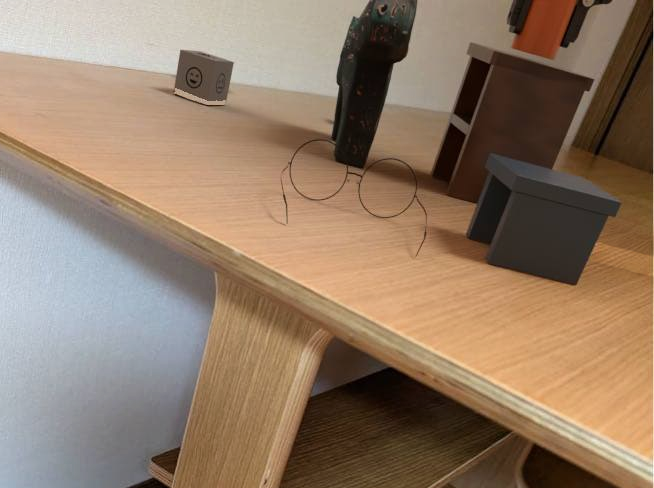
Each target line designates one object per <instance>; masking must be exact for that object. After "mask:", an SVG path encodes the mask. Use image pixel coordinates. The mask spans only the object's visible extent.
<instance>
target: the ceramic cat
mask: <svg viewBox="0 0 654 488" xmlns="http://www.w3.org/2000/svg"><path fill="white" fill-rule="evenodd" d="M417 7H418V0H368V3H366V6H365V8H364V9H363V11H362V12H361V14H360V15H359V16H358V17H357V16H355V15H353V16H352V19H351V20H350V24H349V26H348V28H347V32H346V33H347V34H346V36H345V39H344V42H343V46H342V49H341V52H340V55H339V62H338V66H337V70H336V77H335V78H336V79H335V80H336V85H337V86H338V91H337V97H336V104H335V110H334V117H333V118H334V120H333V126H332V130H331V131H332V132H331V136H330V138H332V139H333V140H332V139H331V140H332V141H334V140H335V141H334V144H336V145H337V146H338V147H339V148H340V149H341V150H342V151H343V153H344V155H345V157H346V159H347V163H348V166H353V167H356V168H360V169H364V168H365V166H366V164H367V161H368V157H369V155H370V151H371V148H372V145H373V143H374V140H375V138H376V134H377V131H378V127H379V124H380V120H381V116H382V113H383V111H384V106H385V103H386V100H387V97H388V92H389V87H390V83H391V80H392V75H393V69H394V65H395V64H397V63H400V62H402V61H403V60H404V59H405V58H406V57H407V55H408V53H409V49H410V42H411V37H412V32H413V27H414V23H415V19H416V14H417V9H418V8H417ZM338 147H336V146H335V145H334V149H333V157H334V161H335V162H338V163H341V164H344V165H347V164H346V160H345V157H344V155H343V153H342V152H341V151H340V149H339V148H338Z"/></svg>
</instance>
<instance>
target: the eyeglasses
mask: <svg viewBox="0 0 654 488" xmlns="http://www.w3.org/2000/svg"><path fill="white" fill-rule="evenodd" d="M317 141H320V142H322V141H323V142H327V143H330V144H332V145H333V146H334V147H335V146H336V147H338V146H337V145H336V144H335V142H333V141H330V140H328V139H319V138H318V139H317V138H316V139H313V140H309V141H307V142H305V143H303V144H302V145H301V146H299V147H298V148H297V150H296V151H295V152H294V154H293V156H292V157H291V161H288V163H287V166H285V168H284V169H282V171H281V174H280V176H282V174H283V172H285V171H286V169H287V168H288V167H289V178H290V182H291V184H292V186H293V188H294V190H295V191H296V192H297V193H298V194H299V195H300V196H302V197H303V198H305V199H308V200H310V201H317V202H318V201H319V202H320V201H325V200H329V199H331V198H333V197H334V196H335V195H337V194H338V193H339V192H340V191H341V190H342V188H343V187H344V185H345V184H346V183H349V182H350V178H349V179H348V174H349V175H354V176H357V177H360V180H359V181H357V182H356V185H358V190H357V191H358V198H359V201H360V204H361V205H362V207H363V209H364V210H365V211H366V212H367V213H369V214H370V215H372V216H373V217H376V218H380V219H390V218H394V217H397V216H399V215H401V214H403V213H405V212H406V210H408V209H409V208H410V206H411V205H412V203H413V202H414V200H415V198H416V201H417V202H418V204H419V205H420V206H421V208H422V209H423V211H424V214H425V223H427V222H428V220H427V219H428V215H427V214H428V213H427V210H426V208H425V207H424V206H423V204H422V203H421V201H420V200H419V198H418V195H417V191H418V181H417V177H416V174H415V172H414V169H412V167H411V166H410V165H409V164H408V163H406V161H403V160H401V159H398V158H395V157H394V158H393V157H388V158H387V157H386V158H383V159H378V160H376V161H375V162H373V163H371V165H369V166H368V167H367V168H366V169H365V171H364V172H363V173H362V174H360V173H356V172H351V171H349V165H348V163H347V159H346V157H345V155H344V153H343V151H342V150H341V149H340V148H339V147H338V148H339V149H340V151H341V152H342V153H343V155H344V157H345V160H346V164H345V165H346V174H345V178H344V181H343V183H342V184H341V186H340V188H339V189H338V190H337V191H335V193H333V194H332V195H330V196H328V197H325V198H320V199H318V198H317V199H315V198H311V197H308V196H306V195H304V194H302V193H301V192H300V191H299V190H298V189H297V188H296V186H295V184H294V182H293V179H292V173H291V171H292V170H291V168H292V163H293V160H294V158H295V156H296V154H298V152H299V150H300V149H301V148H303V147H304V146H305V145H307V144H309V143H313V142H317ZM387 160H391V161H392V160H393V161H398V162H400V163H403V164H404V165H405V166H407V167H408V168H409V169H410V171H411V172H412V174H413V176H414V181H415V191H414V195H413V197H412V200H411V201H410V203H409V204H408V206H406V207H405V208H404V210H402V211H401V212H399V213H397V214H394V215H391V216H380V215H376V214H375V213H372V212H370V211H369V210H368V209H367V208H366V206H365V205H364V204H363V202H362V199H361V193H360V190H361V189H360V188H361V183H362V180H363V178H364V176H365V174H366V173H367V171H368V170H369V169H370V168H371V167H372V166H374V165H376V164H377V163H380V162H382V161H387ZM280 183H281V189H282V198H283V201H284V205H285V212H286V224H288V222H289V221H288V220H289V219H288V203H287V198H286V195H285V192H284V191H285V190H284V186H283V180H282V179H280ZM427 233H428V232H427V226H425V231H424V234H423V240H422V242H421V244H420V246H419V248H418V249H417V252H416V254H415V256H414V257H415V258H417V256H418V254H419V252H420V250H421V248H422V246H423V244H424V242H425V240H426V237H427Z"/></svg>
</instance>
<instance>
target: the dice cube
mask: <svg viewBox="0 0 654 488" xmlns="http://www.w3.org/2000/svg"><path fill="white" fill-rule="evenodd" d="M178 55H179V56H178V62H177V69H176V75H175V79H174V80H175V82H174V88H177V89H180V90H182V91H184V92H187V93H189V94H192V95H194V96H197V97H199V98H202V99H205V100H207V101H216V100H217V101H223V100H226V101H228V100H227V99H228V95H229V90H230V84H231V79H232V74H233V69H234V64H235V61H232V60H228V59H225V58H222V57H219V56H216V55H213V54H210V53H207V52H204V51H200V50H191V49H180V50H179V54H178ZM174 88H173V89H174Z"/></svg>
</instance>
